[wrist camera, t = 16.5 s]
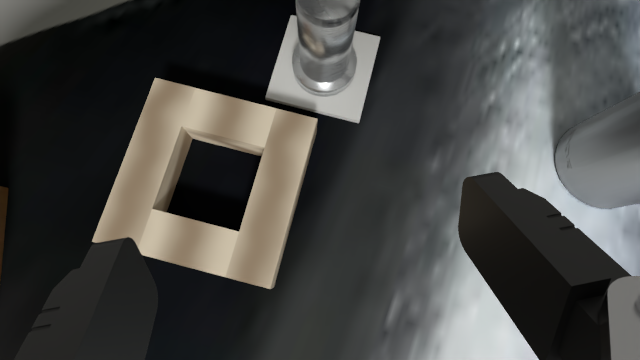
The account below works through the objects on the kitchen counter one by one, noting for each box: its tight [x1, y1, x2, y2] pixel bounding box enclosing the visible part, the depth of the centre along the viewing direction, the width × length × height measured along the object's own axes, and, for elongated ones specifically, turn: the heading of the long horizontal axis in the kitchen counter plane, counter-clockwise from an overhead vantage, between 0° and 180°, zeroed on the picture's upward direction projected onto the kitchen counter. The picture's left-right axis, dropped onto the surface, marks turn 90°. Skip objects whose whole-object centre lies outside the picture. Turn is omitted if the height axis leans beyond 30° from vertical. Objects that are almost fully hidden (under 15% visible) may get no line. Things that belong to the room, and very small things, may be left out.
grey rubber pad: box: [265, 15, 380, 123], centre depth 42 cm, size 10×10×1 cm
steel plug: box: [292, 0, 360, 97], centre depth 36 cm, size 7×7×12 cm
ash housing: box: [92, 78, 317, 289], centre depth 37 cm, size 16×16×4 cm
